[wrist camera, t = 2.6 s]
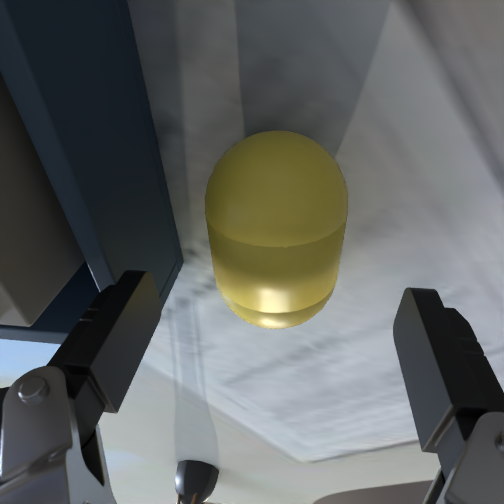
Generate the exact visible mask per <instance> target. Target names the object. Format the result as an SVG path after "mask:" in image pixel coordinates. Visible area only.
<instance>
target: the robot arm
mask: <svg viewBox="0 0 504 504" xmlns="http://www.w3.org/2000/svg"><path fill="white" fill-rule="evenodd" d="M160 317H161V301H160V298H159V295H158V291H157V288H156V285H155V281H154V278H153V275H152V273H151V272H150V271H138V270H126V271H125V272H124V273H123V274H122V276H121V277H120V279H119V280H118V282H117V283H116V285H111V284H110V285H109V286H107V287H106V288H105V289H104V290H102V291H101V292H100V293H99V294H97V295H96V296H95V298H94V299H93V301H92V302H91V303H90V305H89V306H88V308H87V311H85V312H84V313H83V315H82V316H81V318H80V321H79V322H77V323H76V325H75V326H74V327H73V329H72V330H71V332H70V333H69V335H68V336H67V337H66V339H65V340H64V342H63V343H62V344H61V346H60V347H59V349H58V350H57V352H56V353H55V354H54V356H53V357H52V359H51V360H50V361H49V363H48V364H47V365H46V366H43V367H39V368H36V369H33V370H31V371H29V372H27V373H26V374H24V375H23V376H21V377H20V378H19V379H17V380H16V381H15V382H14V383H13V384H12V386H10V387H5V388H0V504H117V503H116V500H115V498H114V496H113V493H112V489H111V485H110V480H109V475H108V470H107V464H106V459H105V454H104V449H103V443H102V438H101V433H100V428H99V425H98V421H99V419H100V417H101V415H102V413H103V412H109V413H118V410H119V408H120V406H121V404H122V402H123V399H124V397H125V395H126V393H127V391H128V389H129V386H130V384H131V382H132V380H133V378H134V375H135V373H136V371H137V369H138V367H139V364H140V362H141V360H142V358H143V356H144V353H145V351H146V349H147V347H148V345H149V343H150V340H151V338H152V336H153V334H154V332H155V329H156V327H157V325H158V323H159V320H160ZM393 337H394V343H395V347H396V351H397V354H398V358H399V362H400V366H401V370H402V374H403V378H404V382H405V386H406V390H407V394H408V398H409V402H410V406H411V410H412V414H413V418H414V422H415V426H416V430H417V434H418V438H419V442H420V446H421V450H422V452H430V453H437V454H438V458H439V461H440V465H441V468H440V469H439V471H438V473H437V475H436V477H435V479H434V481H433V483H432V485H431V487H430V489H429V491H428V493H427V496H426V498H425V500H424V502H423V504H504V392H503V390H502V388H501V386H500V384H499V382H498V380H497V378H496V376H495V374H494V372H493V370H492V368H491V366H490V364H489V362H488V360H487V358H486V356H484V352H483V350H482V348H481V346H480V344H479V342H477V338H476V336H475V334H474V332H473V330H472V328H471V326H470V324H469V322H468V321H467V320H466V319H465V318H464V317H463V316H462V315H461V314H460V313H459V312H458V311H457V310H456V309H455V308H444V306H443V303H442V301H441V299H440V297H439V294H438V292H437V291H436V290H435V289H425V288H406V289H405V291H404V293H403V296H402V299H401V302H400V305H399V308H398V311H397V314H396V317H395V320H394V325H393Z"/></svg>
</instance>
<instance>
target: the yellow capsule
mask: <svg viewBox="0 0 504 504" xmlns="http://www.w3.org/2000/svg"><path fill="white" fill-rule="evenodd" d="M347 213H348V192H347V187H346V182H345V179H344V177H343V175H342V173H341V170H340V168H339V166H338V164H337V163H336V161H335V160H334V159H333V157H332V156H331V155H330V153H329V152H328V151H327V150H326V149H324V148H323V147H322V146H321V145H319V144H318V143H317V142H315V141H314V140H312V139H310V138H307V137H305V136H303V135H301V134H298V133H295V132H289V131H266V132H260V133H256V134H254V135H251V136H249V137H247V138H245V139H243V140H241V141H239V142H238V143H236V144H235V145H234V146H233V147H231V148H230V149H229V150H228V151H227V152H225V154H224V155H223V156H222V158H221V159H220V160H219V162H218V163H217V164H216V166H215V167H214V169H213V171H212V174H211V176H210V178H209V181H208V184H207V189H206V194H205V214H206V221H207V228H208V235H209V241H210V248H211V255H212V262H213V269H214V275H215V280H216V284H217V287H218V290H219V292H220V295H221V296H222V298H223V300H224V301H225V303H226V304H227V305H228V307H229V308H230V309H231V310H232V311H233V312H234V313H236V314H237V315H238V316H239V317H240V318H242V319H243V320H245V321H247V322H248V323H250V324H253V325H256V326H259V327H263V328H269V329H283V328H289V327H294V326H297V325H300V324H302V323H304V322H306V321H307V320H309V319H311V318H312V317H313V316H315V315H316V314H317V313H318V312H319V311H320V310H322V308H323V307H324V305H325V304H326V303H327V301H328V300H329V298H330V297H331V295H332V293H333V290H334V287H335V284H336V281H337V276H338V270H339V263H340V257H341V251H342V245H343V238H344V232H345V226H346V220H347Z"/></svg>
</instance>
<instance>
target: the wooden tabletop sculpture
mask: <svg viewBox="0 0 504 504" xmlns="http://www.w3.org/2000/svg"><path fill="white" fill-rule="evenodd" d="M218 474H219V471H218V470H217V469H216V468H215V467H213V466H212V465H209V464H206V463H203V462H200V461H190V460H186V461H182V462H179V463H178V467H177V472H176V479H175V487H176V492H177V495H178V496H177V504H180V501H181V502H182V503H183V504H204V503H205V501H206V500H207V499H208V498H209V497H210V496H211V494H212V492H213V490H214V488H215V485H216V482H217V479H218Z"/></svg>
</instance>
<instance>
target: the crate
mask: <svg viewBox="0 0 504 504" xmlns="http://www.w3.org/2000/svg"><path fill="white" fill-rule="evenodd" d="M0 72H1V74H2V76H3V78H4V81H5V83H6V85H7V87H8V89H9V92H10V94H11V96H12V98H13V101H14V103H15V105H16V107H17V109H18V112H19V114H20V116H21V118H22V121H23V123H24V125H25V127H26V129H27V132H28V134H29V136H30V138H31V140H32V143H33V145H34V147H35V149H36V152H37V154H38V156H39V158H40V160H41V163H42V165H43V167H44V169H45V171H46V174H47V176H48V178H49V180H50V183H51V185H52V187H53V189H54V191H55V194H56V196H57V198H58V200H59V202H60V205H61V207H62V209H63V211H64V214H65V216H66V218H67V220H68V222H69V225H70V227H71V229H72V231H73V234H74V236H75V238H76V240H77V242H78V245H79V247H80V249H81V251H82V253H83V256H84V258H85V261H84V263H83V264H82V265H81V266H80V268H79V269H78V270H77V271H76V272H75V274H74V275H73V276H72V277H71V278H70V280H69V281H68V282H67V283H66V284H65V286H64V287H63V288H62V289H61V290H60V292H59V293H58V294H57V295H56V296H55V298H54V299H53V300H52V301H51V303H50V304H49V305H48V306H47V307H46V309H45V310H44V311H43V312H42V313H41V315H40V316H39V317H38V318H37V319H36V321H35V322H34V323H33V324H32V325H31V326H29V327H28V326H16V325H4V324H0V339H8V340H19V341H30V342H42V343H53V344H62V343H63V342H64V340H65V339H66V337H67V336H68V335H69V333H70V332H71V330H72V329H73V327H74V326H75V325H76V323H77V322H79V321H80V318H81V316H82V315H83V313H84V312H85V311H87V308H88V306H89V305H90V303H91V302H92V301H93V299H94V298H95V296H96V295H97V294H99V293H100V292H101V291H102V290H104V289H105V288H106V287H107V286H109V285H110V284H111V285H116V283H117V282H118V280H119V279H120V277H121V276H122V274H123V273H124V272H125V271H126V270H138V271H150V272H151V273H152V275H153V278H154V281H155V285H156V288H157V291H158V295H159V298H160V301H161V311H162V309H163V307H164V304H165V302H166V300H167V298H168V296H169V293H170V291H171V289H172V287H173V285H174V282H175V280H176V278H177V276H178V274H179V272H180V270H181V268H182V265H183V258H182V253H181V249H180V244H179V240H178V235H177V230H176V226H175V221H174V217H173V212H172V207H171V203H170V198H169V194H168V189H167V184H166V180H165V175H164V171H163V166H162V161H161V157H160V152H159V147H158V143H157V138H156V134H155V129H154V124H153V120H152V115H151V111H150V106H149V101H148V97H147V92H146V88H145V83H144V78H143V74H142V69H141V65H140V60H139V55H138V51H137V46H136V42H135V37H134V32H133V28H132V23H131V19H130V14H129V9H128V5H127V0H0Z"/></svg>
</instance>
